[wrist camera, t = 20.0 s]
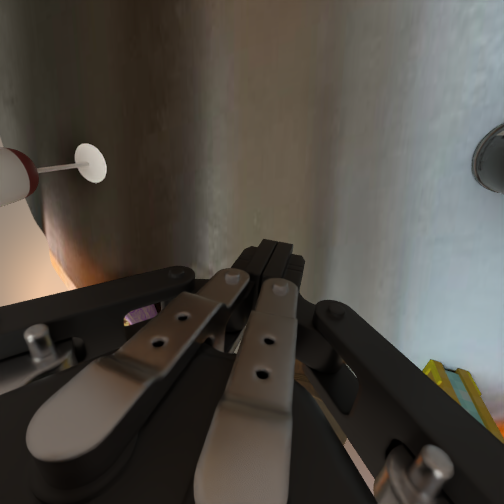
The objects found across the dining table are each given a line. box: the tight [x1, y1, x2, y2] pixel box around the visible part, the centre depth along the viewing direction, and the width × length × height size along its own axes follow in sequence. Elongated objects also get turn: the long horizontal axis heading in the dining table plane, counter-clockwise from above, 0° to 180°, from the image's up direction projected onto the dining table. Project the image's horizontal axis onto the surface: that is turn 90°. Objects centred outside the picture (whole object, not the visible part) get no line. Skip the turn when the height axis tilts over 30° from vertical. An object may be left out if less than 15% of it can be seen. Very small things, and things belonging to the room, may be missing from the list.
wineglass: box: [0, 143, 107, 207], centre depth 44 cm, size 8×9×20 cm
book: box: [422, 359, 504, 444], centre depth 42 cm, size 17×7×25 cm, turn 170°
